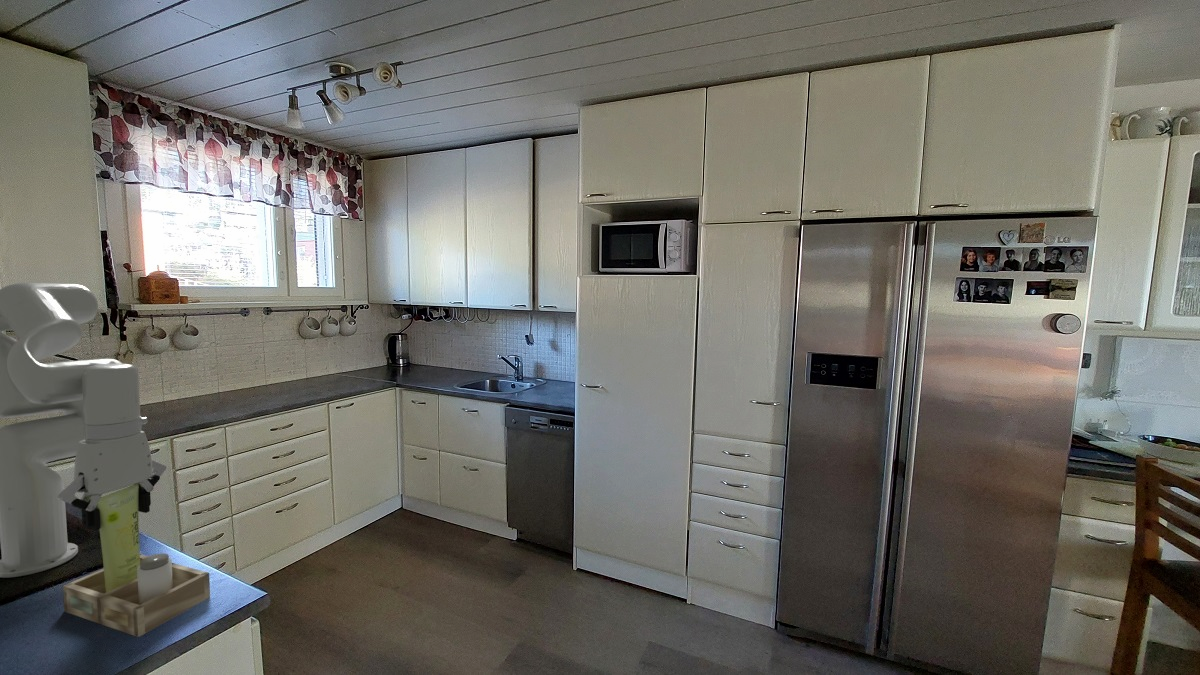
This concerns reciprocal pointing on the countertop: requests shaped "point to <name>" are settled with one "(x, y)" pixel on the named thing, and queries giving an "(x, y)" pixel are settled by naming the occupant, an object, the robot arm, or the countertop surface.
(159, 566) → the jar
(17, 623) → the countertop surface
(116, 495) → the tube
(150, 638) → the countertop surface
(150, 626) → the box
